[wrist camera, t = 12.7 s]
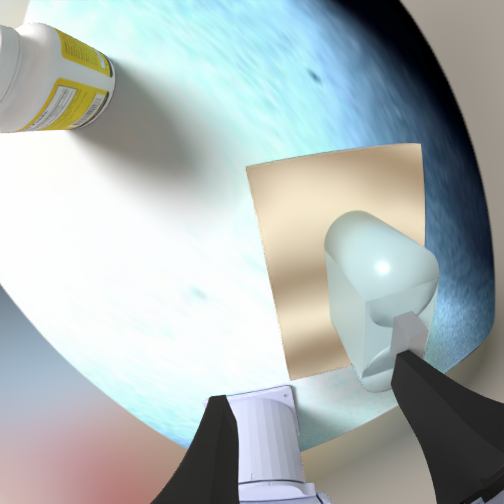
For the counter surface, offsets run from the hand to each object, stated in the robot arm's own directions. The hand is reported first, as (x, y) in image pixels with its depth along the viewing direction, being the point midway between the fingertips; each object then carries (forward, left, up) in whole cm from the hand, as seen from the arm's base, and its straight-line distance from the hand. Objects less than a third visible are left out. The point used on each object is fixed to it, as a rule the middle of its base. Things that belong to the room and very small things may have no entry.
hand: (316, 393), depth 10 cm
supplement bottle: (+16, +10, -10) cm, 21 cm away
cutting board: (0, -5, -9) cm, 10 cm away
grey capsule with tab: (0, -5, -8) cm, 9 cm away
